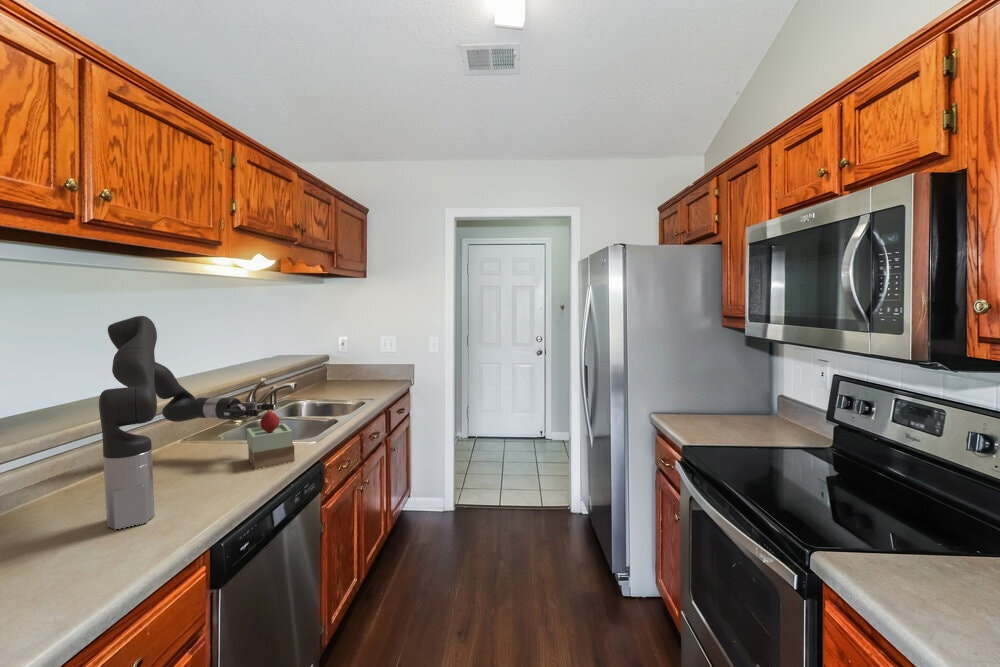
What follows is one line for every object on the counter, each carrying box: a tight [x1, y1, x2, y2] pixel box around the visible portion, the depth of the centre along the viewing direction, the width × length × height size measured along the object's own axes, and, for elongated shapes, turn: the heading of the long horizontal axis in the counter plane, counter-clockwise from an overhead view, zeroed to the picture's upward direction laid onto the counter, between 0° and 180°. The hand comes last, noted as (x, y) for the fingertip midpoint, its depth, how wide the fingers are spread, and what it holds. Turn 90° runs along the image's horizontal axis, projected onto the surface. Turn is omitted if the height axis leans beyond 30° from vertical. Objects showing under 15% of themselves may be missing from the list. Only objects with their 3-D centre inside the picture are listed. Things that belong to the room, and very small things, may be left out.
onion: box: [259, 410, 281, 433], centre depth 154 cm, size 6×6×8 cm
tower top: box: [246, 422, 294, 453], centre depth 154 cm, size 12×12×5 cm
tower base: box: [247, 444, 296, 470], centre depth 155 cm, size 12×12×6 cm
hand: (265, 410), depth 154 cm, fingers open, 8 cm apart
